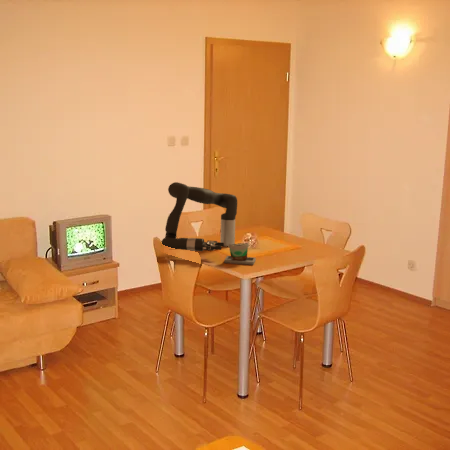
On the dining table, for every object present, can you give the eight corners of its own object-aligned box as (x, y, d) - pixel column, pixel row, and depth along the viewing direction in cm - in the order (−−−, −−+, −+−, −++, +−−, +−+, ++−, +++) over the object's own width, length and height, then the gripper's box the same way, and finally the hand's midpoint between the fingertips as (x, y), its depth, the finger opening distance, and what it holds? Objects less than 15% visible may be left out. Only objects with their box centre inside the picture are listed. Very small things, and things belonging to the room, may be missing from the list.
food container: (230, 263, 355) (229, 247, 352) (228, 259, 361) (227, 243, 357) (251, 261, 357) (250, 245, 353) (249, 257, 362) (248, 241, 359)
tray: (227, 258, 365) (227, 255, 365) (255, 260, 363) (255, 257, 362) (224, 263, 356) (224, 260, 355) (253, 265, 353) (253, 262, 353)
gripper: (192, 241, 354) (220, 243, 351) (198, 235, 368) (224, 237, 365) (192, 253, 356) (220, 255, 353) (197, 247, 369) (224, 249, 367)
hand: (222, 246), depth 359 cm, fingers open, 8 cm apart
